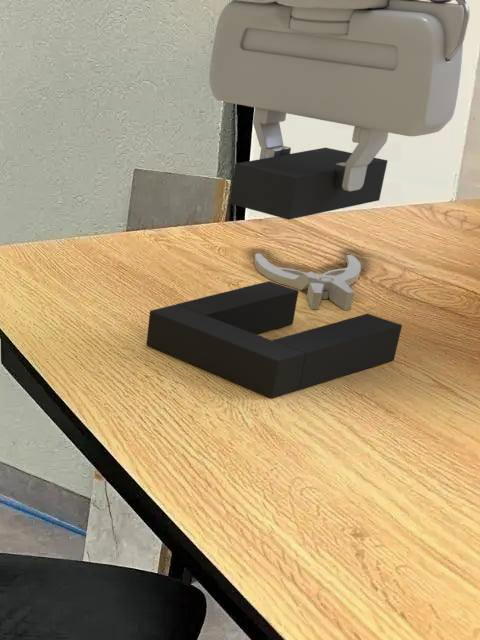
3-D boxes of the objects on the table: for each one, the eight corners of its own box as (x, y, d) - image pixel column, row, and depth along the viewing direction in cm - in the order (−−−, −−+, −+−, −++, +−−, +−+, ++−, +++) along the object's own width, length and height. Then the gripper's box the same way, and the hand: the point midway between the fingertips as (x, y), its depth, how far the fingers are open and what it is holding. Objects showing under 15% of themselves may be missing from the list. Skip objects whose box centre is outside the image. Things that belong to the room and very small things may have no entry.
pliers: (356, 246, 114) (391, 293, 102) (352, 262, 115) (388, 310, 103) (254, 244, 115) (277, 291, 103) (252, 260, 116) (274, 308, 104)
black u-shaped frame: (263, 313, 103) (269, 280, 101) (394, 360, 93) (402, 324, 91) (145, 344, 97) (149, 310, 95) (271, 398, 87) (277, 360, 85)
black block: (318, 186, 93) (325, 147, 92) (379, 200, 89) (387, 160, 87) (229, 203, 89) (235, 163, 87) (288, 219, 85) (295, 177, 83)
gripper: (505, -18, 74) (452, 200, 82) (267, -34, 89) (241, 152, 97) (442, -12, 72) (393, 213, 79) (208, -29, 87) (185, 161, 94)
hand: (308, 179), depth 88 cm, fingers closed on black block, 6 cm apart
